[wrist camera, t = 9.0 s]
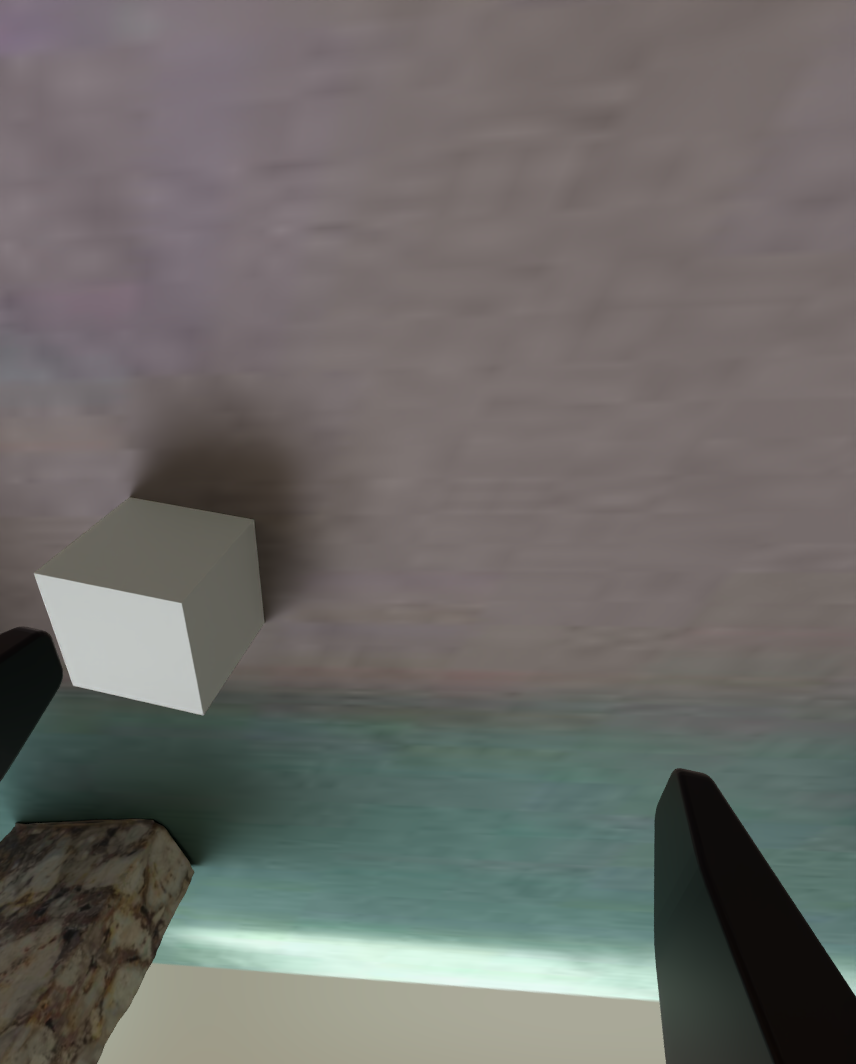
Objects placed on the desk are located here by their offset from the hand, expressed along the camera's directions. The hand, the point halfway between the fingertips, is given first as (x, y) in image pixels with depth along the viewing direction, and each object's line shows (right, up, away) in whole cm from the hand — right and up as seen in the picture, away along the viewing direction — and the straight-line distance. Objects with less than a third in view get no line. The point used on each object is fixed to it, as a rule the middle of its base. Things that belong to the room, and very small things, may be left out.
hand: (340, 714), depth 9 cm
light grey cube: (-8, +1, +16) cm, 18 cm away
